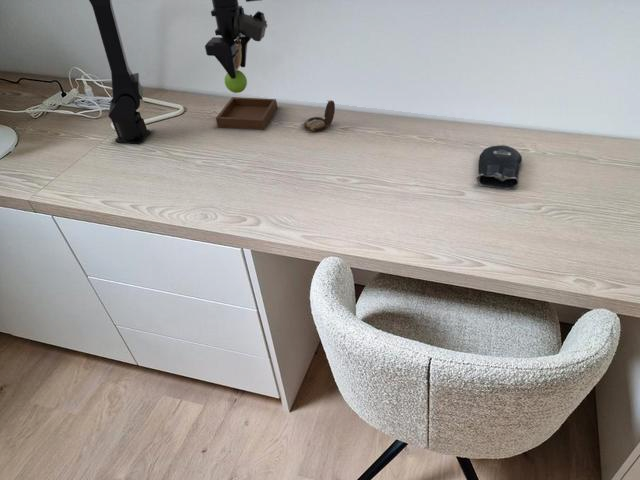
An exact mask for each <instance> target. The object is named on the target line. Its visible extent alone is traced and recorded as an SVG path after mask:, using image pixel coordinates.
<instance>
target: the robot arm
mask: <svg viewBox="0 0 640 480" xmlns="http://www.w3.org/2000/svg"><path fill="white" fill-rule="evenodd" d="M259 1H260V2H261V1H262V0H245V2H246V3H249V2H251V3H252V2H259ZM88 2H89V3H90V5H91V7H92V10H93V14H94V17H95V20H96V24H97V28H98V31H99V35H100V38H101V41H102V42H101V43H102V44H103V45H102V46H103V49H104V51H105V55H106V60H107V63H108V66H109V69H110V73H111V89H112V98H111V100H110V103H109V110H108V118H109V119H110V120H111V122H112V125H113V128H114V129H115V132H116V135H117V137H116V138H115V139H114V141H115V143H121V144H138V145H139V144H140V143H141V142H142V141H143V140H145V138H146V137H147V136H148V135H149V134H150V133H151V130H150V129H148V128H147V126H146V122H145V120H144V118H143V117H142V116H141V115H142V114H141V112H140V111H138V109H139V108H140V106H141V100H142V101H143V93H144V92H143V89H144V87H142V85H141V83H140V76H139V75H140V73H139V72H136V73H133V72H132V70H131V69H130V67H129V64H128V61H127V55H126V52H125V49H124V45H123V41H122V37H121V33H120V29H119V25H118V21H117V18H116V14H115V10H114V7H113V3H112V0H88ZM211 2H212V7H213V9H212V10H211V11H210V14H211V17H215V22H216V29H215V30H214V33H215V36H213V37H212V38H210V39H209V40H208V41H207V42H206V44H205V45H204V49H205V53H206V55H207V56H209V57H215V58H216V60H217V62H219V64H220V65H221V66H222V68H223V69H224V70H225V72H226V74H227V73H228V74H229V76H230V77H231V78H232V79H235V78H236V66H235V56H236V55H237V53H238V52H239V50H237V44H238V43H239V44H240V41H239V40H238V41H237V38H238V39H241V46H242V48H241V54H242V57H241V64H240V67H241V68H245V67H246V66H247V52H248V43H249V42H250V40H251V39H252V40H253V41H255V42H261V41H262V39H263V38H265V34H266V29H267V27H268V23H267V22H268V20H266V18H265V17H266V16H265V13H264V12H263V11H260V10H257V12H255V14H254V15H252V14H247V13H245V9H244V7H243V6H242V5H239V0H211ZM218 36H219V37H218Z"/></svg>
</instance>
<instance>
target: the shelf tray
mask: <svg viewBox="0 0 640 480" xmlns="http://www.w3.org/2000/svg"><path fill="white" fill-rule="evenodd" d="M277 110H278V102H277V99H276V98H261V97H260V98H259V97H239V96H237V97H235V96H234V97H233V96H232V97H231V98H230V99H229V100H228V102H227V103H226V104H225V105H224V107H223V108H222V110H221V111H220V112H219V113H218V114H217V116H216V117H215V120H216V125H217V128H222V129H223V128H224V129H244V130H259V131H261V130H262V131H265V130H266V128H267V126H268V124H269V123H270V121H271V120H272V118H273V116H274V115H275V113H276V111H277Z"/></svg>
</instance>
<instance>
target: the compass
mask: <svg viewBox="0 0 640 480" xmlns="http://www.w3.org/2000/svg"><path fill="white" fill-rule="evenodd" d="M326 102H327V104H326V106H325V110H324V115H323V117H321V116H313V117H310V118H308V119H307V120H305V121H304V128H305V129H306V132H308V133H309V132H311V133H314V132H320V131H324V130H325V129H327V128H328V127H329V126H331V124H332V122H333V120H334V116H335V111H336V104H335V101H334V100H332V99H331V100H326Z"/></svg>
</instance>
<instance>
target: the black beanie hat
mask: <svg viewBox="0 0 640 480" xmlns="http://www.w3.org/2000/svg"><path fill="white" fill-rule="evenodd" d="M522 159H523V157H522V153H520V152H519V151H518V150H517V149H516V148H514V147H512V146H509V145H504V144H498V145H497V144H496V145H492V146H488V147H486V148H484V149H483V150H482V152H481V153H480V154H479V158H478V170H477V171H478V174H477V176H476V177H475V179H476V182H477V185H478V187H490V188H496V189H502V190H510V189H513V188H515V187H516V186H518V185H519V182H518V178H519V177H518V176H519V170H520V165H521V163H522V161H523V160H522Z"/></svg>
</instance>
